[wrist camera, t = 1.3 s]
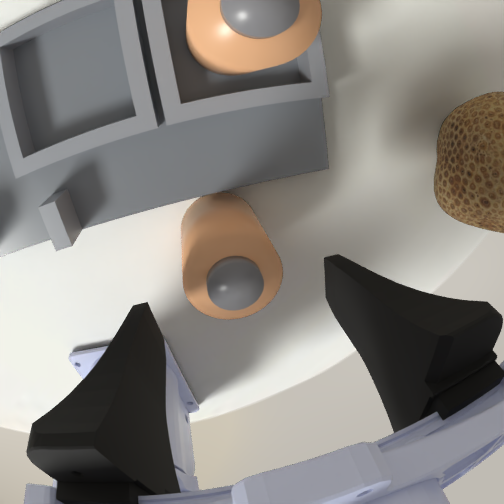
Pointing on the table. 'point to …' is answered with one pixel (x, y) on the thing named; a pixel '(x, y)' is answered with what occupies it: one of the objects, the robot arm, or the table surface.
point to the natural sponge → (473, 163)
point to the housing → (137, 119)
